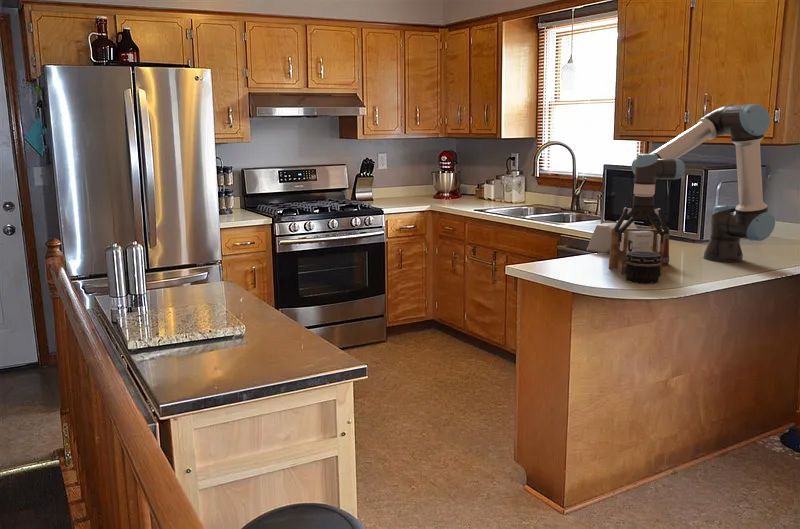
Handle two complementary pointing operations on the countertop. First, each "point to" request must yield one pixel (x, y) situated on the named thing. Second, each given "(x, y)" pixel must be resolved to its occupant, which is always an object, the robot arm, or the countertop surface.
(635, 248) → the ink box
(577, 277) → the countertop surface
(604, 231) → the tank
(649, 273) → the container
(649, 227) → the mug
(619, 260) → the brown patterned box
